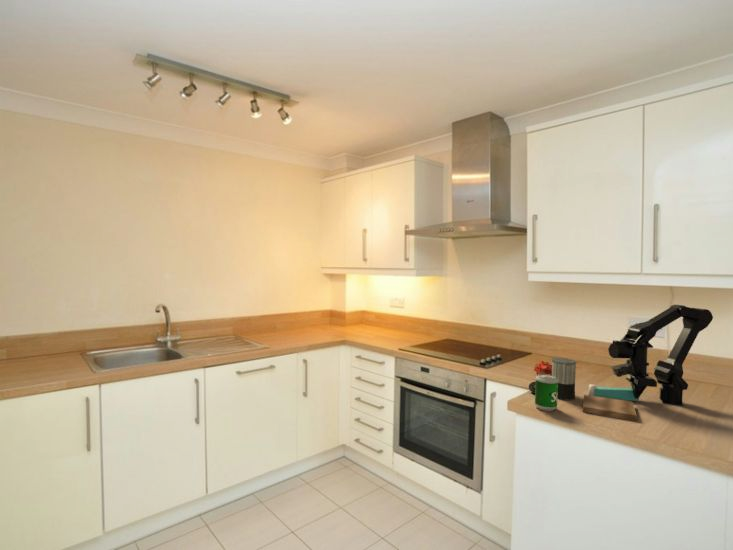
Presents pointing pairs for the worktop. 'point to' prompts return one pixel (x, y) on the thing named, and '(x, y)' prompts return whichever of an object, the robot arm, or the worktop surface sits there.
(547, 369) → the dragon fruit
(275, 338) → the worktop surface
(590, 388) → the folding leg
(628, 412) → the flat wooden board
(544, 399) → the soda can
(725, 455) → the worktop surface
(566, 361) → the milk frother
